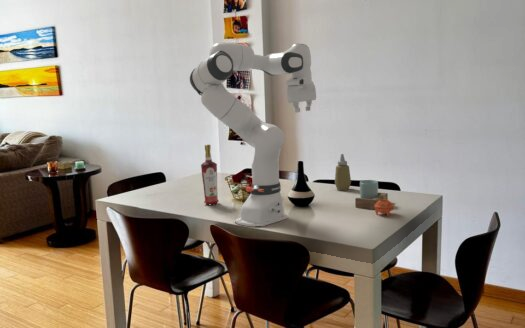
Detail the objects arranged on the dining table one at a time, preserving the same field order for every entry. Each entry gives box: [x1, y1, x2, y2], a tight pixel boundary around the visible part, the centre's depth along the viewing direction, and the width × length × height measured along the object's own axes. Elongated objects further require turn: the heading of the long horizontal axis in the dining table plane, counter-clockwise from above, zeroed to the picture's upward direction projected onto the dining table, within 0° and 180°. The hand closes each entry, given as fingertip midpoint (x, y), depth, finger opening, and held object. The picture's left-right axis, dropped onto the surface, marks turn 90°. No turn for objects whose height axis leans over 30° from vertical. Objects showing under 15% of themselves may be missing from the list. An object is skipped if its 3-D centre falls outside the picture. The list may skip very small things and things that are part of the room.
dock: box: [354, 191, 389, 210], centre depth 216 cm, size 14×9×4 cm, turn 145°
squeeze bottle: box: [334, 153, 352, 191], centre depth 247 cm, size 8×8×18 cm
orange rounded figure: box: [374, 199, 395, 217], centre depth 200 cm, size 8×8×7 cm
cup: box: [359, 179, 379, 199], centre depth 217 cm, size 8×8×10 cm
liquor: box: [200, 144, 220, 205], centre depth 229 cm, size 7×7×28 cm
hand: (302, 111), depth 225 cm, fingers open, 8 cm apart
